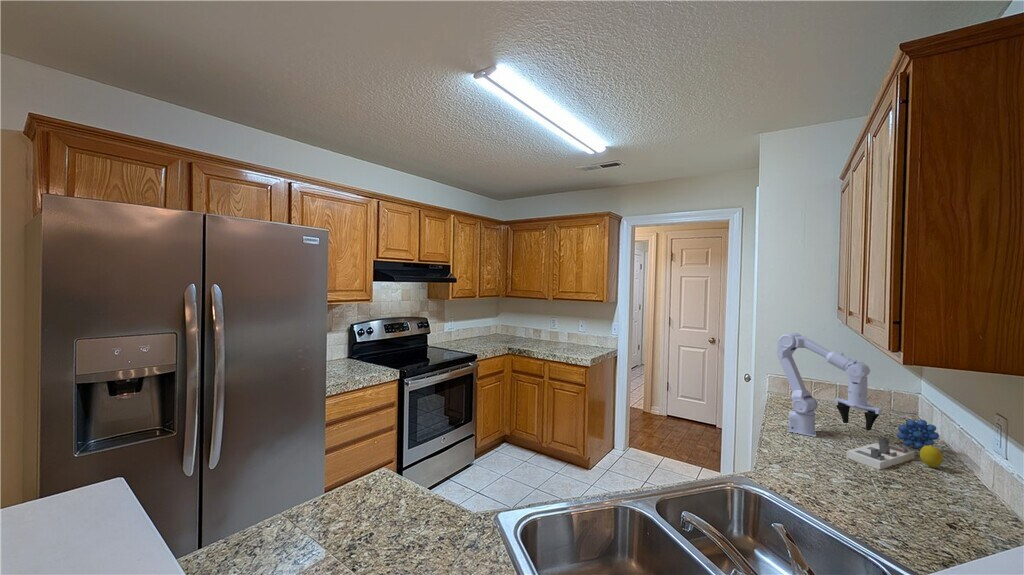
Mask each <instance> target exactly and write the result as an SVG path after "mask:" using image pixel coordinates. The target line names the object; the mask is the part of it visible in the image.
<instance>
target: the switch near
mask: <svg viewBox="0 0 1024 575" xmlns="http://www.w3.org/2000/svg"><path fill="white" fill-rule="evenodd" d="M879 456H881V451H880V450H879V449H872V450H871V457H874V458H877V459H878V457H879Z"/></svg>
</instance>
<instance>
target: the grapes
mask: <svg viewBox="0 0 1024 575" xmlns="http://www.w3.org/2000/svg"><path fill="white" fill-rule="evenodd" d="M904 423H905V424H900V425H899V426H898V427H897V429H898V431H899V432H897V434H896V437H897V438H898V439H899V440H902V443H903V445H904V446H906V447H912V446H913V447H914V448H915V449H917V450H921V448H922V447H924V446H929V445H932V446H933V447H934V445H935V441H934V440H938V439H939V438H940V434H939V433H938V432H936V430H937V427H936V425H934V424H932V423H930V424H928V422H927V421H926V420H924V419H918V420H917V421H915V420H913V419H908V420H906V421H905V422H904Z"/></svg>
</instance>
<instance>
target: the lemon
mask: <svg viewBox="0 0 1024 575" xmlns="http://www.w3.org/2000/svg"><path fill="white" fill-rule="evenodd" d="M919 456H920V460H921V461H922V462H923V463H924V464H926V465H927V466H928V467H929V468H934V467H939V466H941V465H942V463H943V461H944V460H943V458H944V457H943V454H942V451H940V449H938V448H937V447H936V446H934V445H933V446H932V445H929V446H925V445H924V447H922V448H921V449H919Z"/></svg>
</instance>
